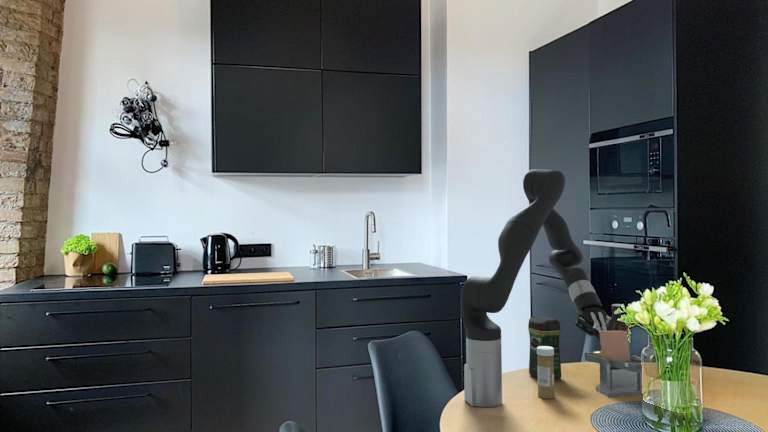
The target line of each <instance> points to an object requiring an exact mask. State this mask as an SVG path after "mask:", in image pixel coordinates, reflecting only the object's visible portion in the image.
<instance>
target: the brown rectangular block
mask: <svg viewBox="0 0 768 432" xmlns="http://www.w3.org/2000/svg"><path fill="white" fill-rule="evenodd" d="M599 333H600V343H601V345H600V351H601V353H602V357H603V358H608V359H613V360H617V361H630V358H631V352H630V342H629V343H628V339H627V335H628V333H627V331H599ZM600 343H599V344H600Z"/></svg>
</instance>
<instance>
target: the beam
mask: <svg viewBox="0 0 768 432" xmlns="http://www.w3.org/2000/svg"><path fill="white" fill-rule="evenodd" d="M605 359H607V360H609V361H610V367H616V368H620V369H624V370H628V371H633V372H637V373H642V365H641V360H640V359H635V358H632V357H630V361H617V360H613V359H608V358H605ZM584 360H585V361H588V362H591V363H596V364H599V365H600V357H599V356H594V355H593V352H592V351H590V352H589V351H588V352H584Z"/></svg>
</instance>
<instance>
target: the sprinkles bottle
mask: <svg viewBox="0 0 768 432" xmlns="http://www.w3.org/2000/svg"><path fill="white" fill-rule="evenodd" d="M537 356H538V365H537V371H538V379H537V396H538V397H539V398H541V399H547V400H548V399H553V398H555V396H556V394H555V381H554V361H553V357H554V348H553V347H550V346H539V347H537Z"/></svg>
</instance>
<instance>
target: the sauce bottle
mask: <svg viewBox="0 0 768 432" xmlns="http://www.w3.org/2000/svg"><path fill="white" fill-rule="evenodd" d="M621 305H624V306H625V307H626V305H625V304H621V303H613V304H611V313H612V314H611V315H612V316H611V318H612V317H613V316H614V317H615V318H616V320H615V323H614V326H613V329H612V331H627V333H628V327H629V326H628V327H627V325H625V324H624V323H622V322H620V321H617V319H618V318H619V317H620V316H621V315H622V314H617V315H615V314H614V311H615V310H616V309H617V308H619V307H620V306H621ZM628 343H629V344H630V341H629V342H628Z"/></svg>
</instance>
